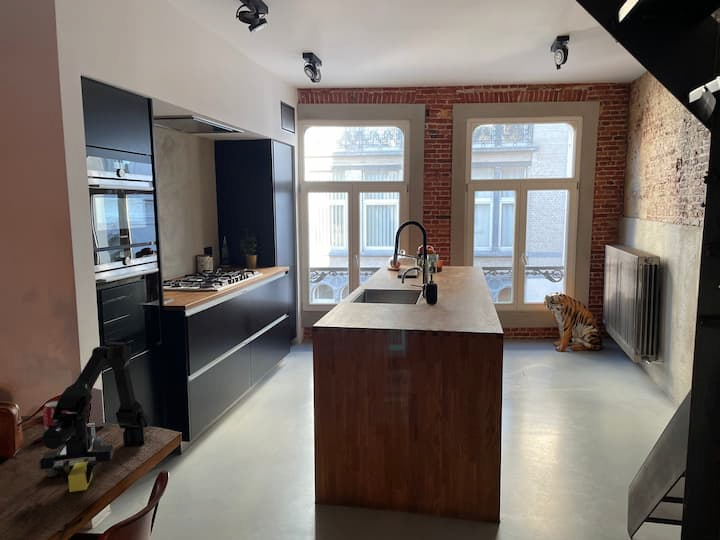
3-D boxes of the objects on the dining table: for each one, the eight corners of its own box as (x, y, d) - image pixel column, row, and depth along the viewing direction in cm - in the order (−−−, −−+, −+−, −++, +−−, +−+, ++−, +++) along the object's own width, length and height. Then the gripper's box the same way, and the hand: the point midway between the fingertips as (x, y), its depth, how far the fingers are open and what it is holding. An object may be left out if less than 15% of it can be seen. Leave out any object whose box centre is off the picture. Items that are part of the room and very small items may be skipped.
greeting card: (106, 426, 198) (103, 389, 197) (87, 433, 192) (85, 395, 190) (87, 421, 204) (85, 384, 202) (69, 427, 197) (67, 390, 196)
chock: (92, 476, 158) (91, 461, 158) (86, 489, 151) (85, 473, 150) (76, 478, 157) (75, 463, 157) (69, 491, 149) (68, 475, 149)
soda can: (70, 430, 194) (68, 400, 193) (58, 438, 187) (56, 407, 186) (53, 430, 195) (51, 399, 194) (40, 438, 188) (37, 406, 187)
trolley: (64, 454, 175) (62, 425, 174) (103, 449, 178) (102, 421, 177) (47, 480, 158) (45, 448, 157) (91, 475, 161) (89, 443, 160)
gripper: (115, 419, 160) (118, 467, 162) (49, 426, 155) (52, 475, 157) (108, 434, 150) (111, 484, 151) (36, 442, 145) (40, 494, 146)
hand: (79, 484), depth 152 cm, fingers closed on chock, 4 cm apart
